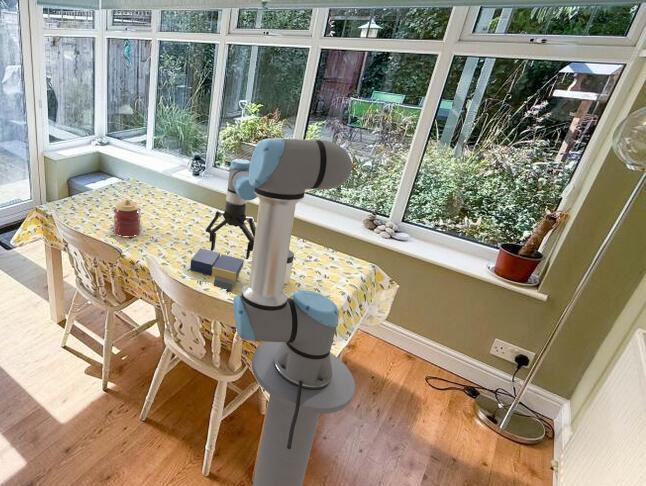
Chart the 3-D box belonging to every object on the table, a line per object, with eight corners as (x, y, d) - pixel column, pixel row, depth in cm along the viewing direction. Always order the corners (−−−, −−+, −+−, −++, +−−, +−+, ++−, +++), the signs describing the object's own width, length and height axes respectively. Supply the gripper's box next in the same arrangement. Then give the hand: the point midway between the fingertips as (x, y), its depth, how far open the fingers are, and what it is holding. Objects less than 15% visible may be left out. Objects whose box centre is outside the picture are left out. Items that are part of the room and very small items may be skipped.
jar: (263, 278, 164) (267, 251, 160) (273, 270, 170) (278, 245, 165) (283, 287, 158) (288, 260, 154) (294, 279, 164) (299, 253, 159)
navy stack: (211, 275, 165) (212, 264, 163) (190, 270, 168) (191, 259, 167) (219, 263, 175) (220, 252, 173) (199, 258, 179) (200, 247, 177)
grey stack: (231, 290, 155) (232, 279, 153) (213, 286, 158) (214, 274, 156) (239, 276, 165) (240, 265, 163) (222, 272, 168) (223, 261, 166)
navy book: (235, 280, 152) (236, 273, 151) (211, 274, 156) (212, 267, 155) (243, 266, 163) (243, 259, 162) (220, 260, 166) (221, 254, 165)
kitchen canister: (110, 229, 204) (109, 196, 197) (134, 225, 208) (134, 192, 202) (119, 240, 193) (119, 206, 186) (144, 236, 197) (145, 202, 191)
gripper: (273, 205, 148) (264, 257, 155) (206, 192, 158) (201, 242, 166) (269, 211, 141) (260, 265, 149) (200, 198, 152) (195, 249, 159)
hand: (229, 253), depth 157 cm, fingers open, 13 cm apart
